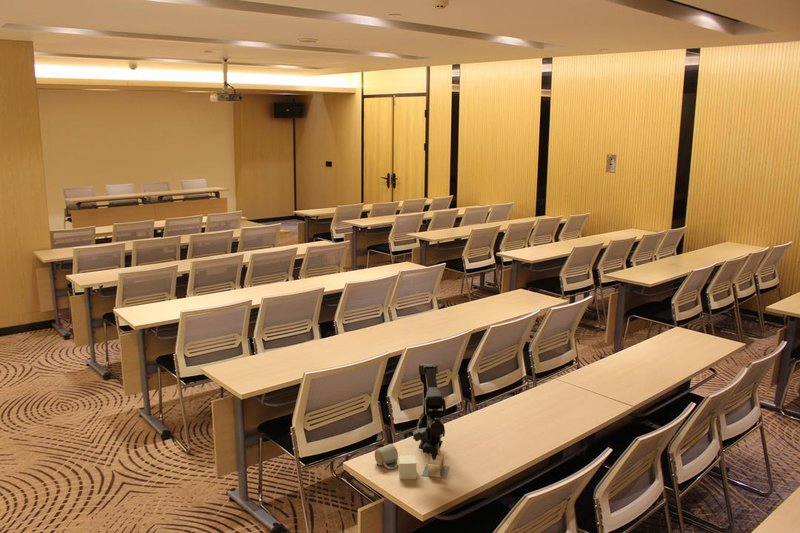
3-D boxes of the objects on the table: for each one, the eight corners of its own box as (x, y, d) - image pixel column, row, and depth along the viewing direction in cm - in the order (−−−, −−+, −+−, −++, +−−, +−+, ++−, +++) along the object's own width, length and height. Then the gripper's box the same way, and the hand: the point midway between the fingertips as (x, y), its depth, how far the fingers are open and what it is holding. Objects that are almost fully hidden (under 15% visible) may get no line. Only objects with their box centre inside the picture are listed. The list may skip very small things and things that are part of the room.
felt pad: (426, 464, 292) (426, 464, 292) (449, 466, 290) (449, 466, 290) (421, 476, 283) (421, 475, 283) (445, 478, 280) (445, 478, 280)
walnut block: (427, 475, 283) (431, 465, 291) (439, 477, 281) (443, 466, 290) (427, 464, 282) (431, 454, 290) (439, 465, 280) (443, 455, 289)
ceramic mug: (373, 461, 295) (373, 445, 293) (389, 456, 299) (389, 440, 297) (386, 472, 286) (386, 456, 284) (402, 467, 290) (402, 450, 289)
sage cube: (398, 470, 287) (398, 455, 286) (415, 470, 288) (415, 455, 286) (399, 479, 281) (399, 463, 279) (416, 478, 281) (416, 463, 279)
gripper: (419, 413, 288) (419, 447, 292) (409, 432, 271) (410, 468, 274) (445, 415, 286) (445, 449, 289) (437, 435, 268) (437, 471, 271)
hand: (434, 459), depth 281 cm, fingers closed
